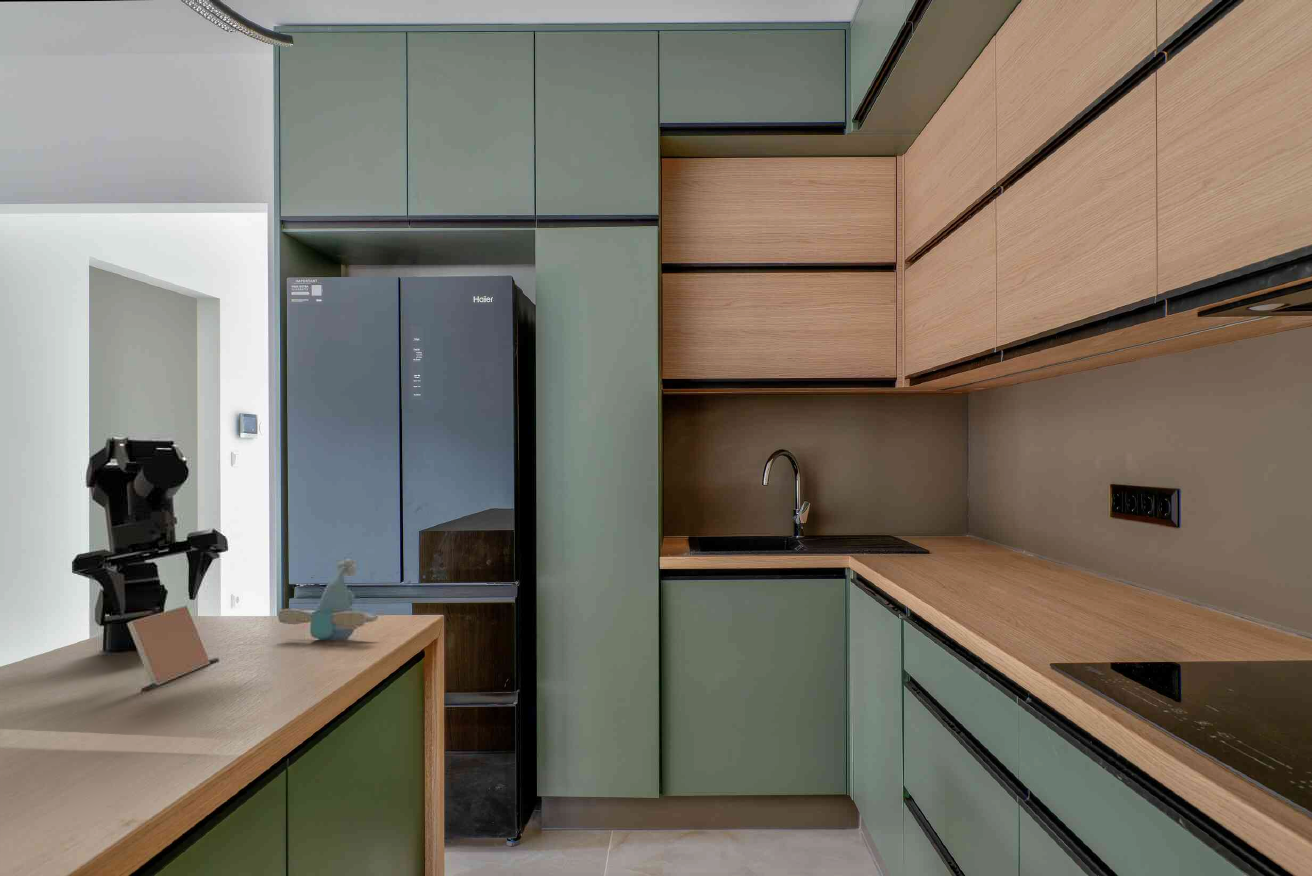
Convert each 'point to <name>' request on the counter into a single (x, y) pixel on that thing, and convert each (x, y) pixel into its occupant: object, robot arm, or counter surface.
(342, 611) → the toy figure
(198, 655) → the tile
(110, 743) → the counter surface
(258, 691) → the counter surface
